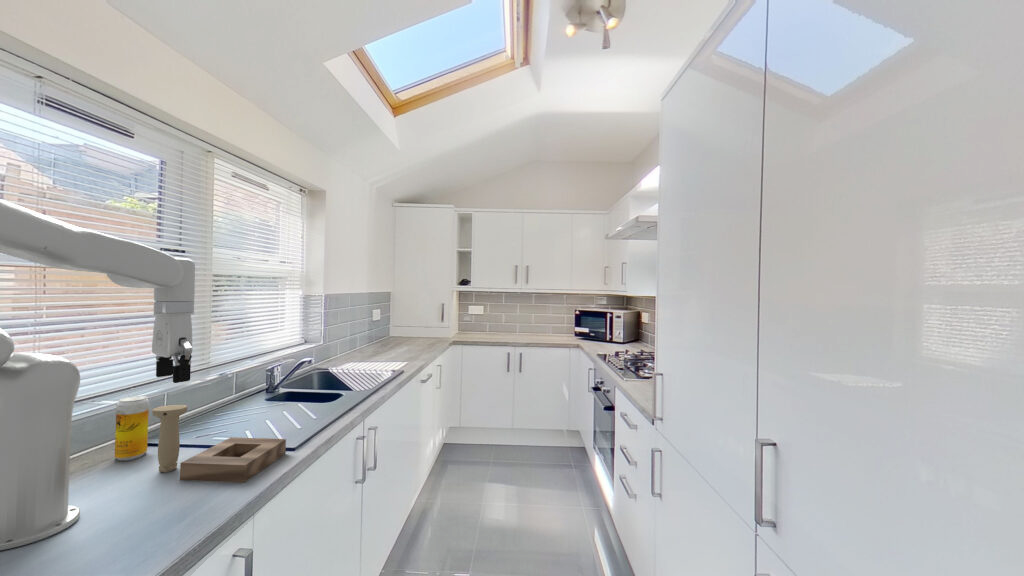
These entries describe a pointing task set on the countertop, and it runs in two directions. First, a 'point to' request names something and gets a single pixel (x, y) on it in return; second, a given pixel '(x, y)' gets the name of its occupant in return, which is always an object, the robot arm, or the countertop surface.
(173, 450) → the tan flared peg
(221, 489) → the countertop surface
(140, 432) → the beer can
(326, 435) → the countertop surface
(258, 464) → the keyed socket block
